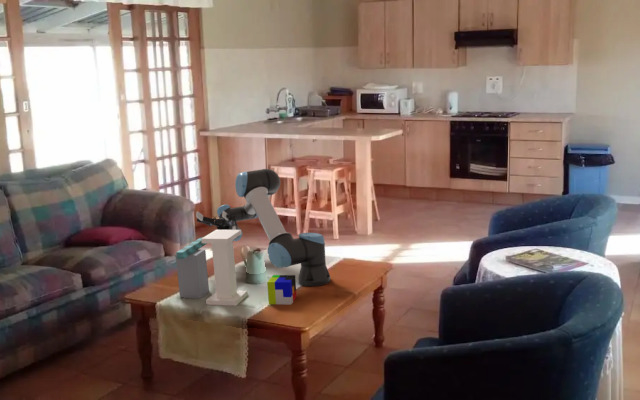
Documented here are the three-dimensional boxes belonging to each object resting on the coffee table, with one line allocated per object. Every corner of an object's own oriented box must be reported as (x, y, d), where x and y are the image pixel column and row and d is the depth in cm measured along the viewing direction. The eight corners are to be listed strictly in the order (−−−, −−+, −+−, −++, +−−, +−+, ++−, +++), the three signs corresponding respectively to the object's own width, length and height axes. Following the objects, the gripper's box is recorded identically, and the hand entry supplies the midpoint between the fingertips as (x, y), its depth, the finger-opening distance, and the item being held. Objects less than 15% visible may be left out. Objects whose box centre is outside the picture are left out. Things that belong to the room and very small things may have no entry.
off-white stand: (219, 293, 318) (214, 229, 312) (248, 294, 315) (243, 229, 309) (205, 305, 303) (199, 238, 297) (235, 306, 299) (229, 238, 294)
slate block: (189, 290, 325) (185, 249, 321) (209, 291, 322) (205, 249, 319) (179, 297, 315) (175, 255, 312) (200, 298, 313) (196, 255, 309)
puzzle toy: (291, 304, 298) (289, 282, 296) (268, 304, 300) (267, 282, 298) (296, 296, 307) (295, 275, 305) (274, 296, 309) (273, 275, 308)
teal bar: (201, 243, 330) (200, 237, 329) (207, 243, 329) (206, 237, 328) (176, 258, 305) (176, 252, 305) (183, 259, 304) (182, 252, 304)
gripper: (248, 233, 351) (233, 220, 332) (202, 234, 357) (185, 221, 338) (249, 219, 354) (234, 206, 334) (204, 220, 360) (187, 206, 341)
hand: (209, 213), depth 336 cm, fingers open, 13 cm apart
